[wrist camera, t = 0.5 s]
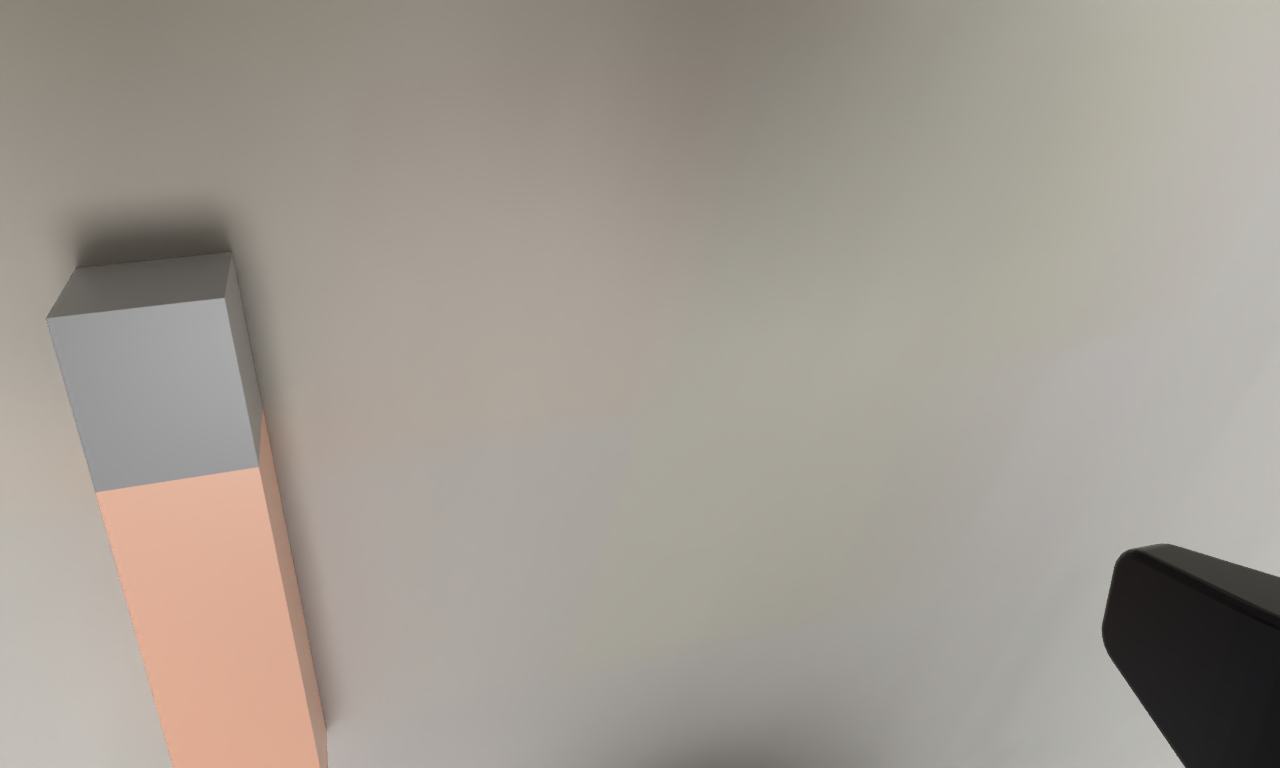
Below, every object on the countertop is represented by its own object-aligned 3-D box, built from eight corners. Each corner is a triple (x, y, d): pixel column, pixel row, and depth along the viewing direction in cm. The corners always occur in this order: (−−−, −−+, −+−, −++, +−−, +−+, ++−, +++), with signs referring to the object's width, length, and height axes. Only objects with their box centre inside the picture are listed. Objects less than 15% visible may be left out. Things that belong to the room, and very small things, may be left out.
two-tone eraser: (326, 730, 23) (330, 817, 21) (205, 756, 22) (196, 849, 20) (232, 251, 18) (224, 297, 16) (76, 267, 18) (45, 317, 15)
